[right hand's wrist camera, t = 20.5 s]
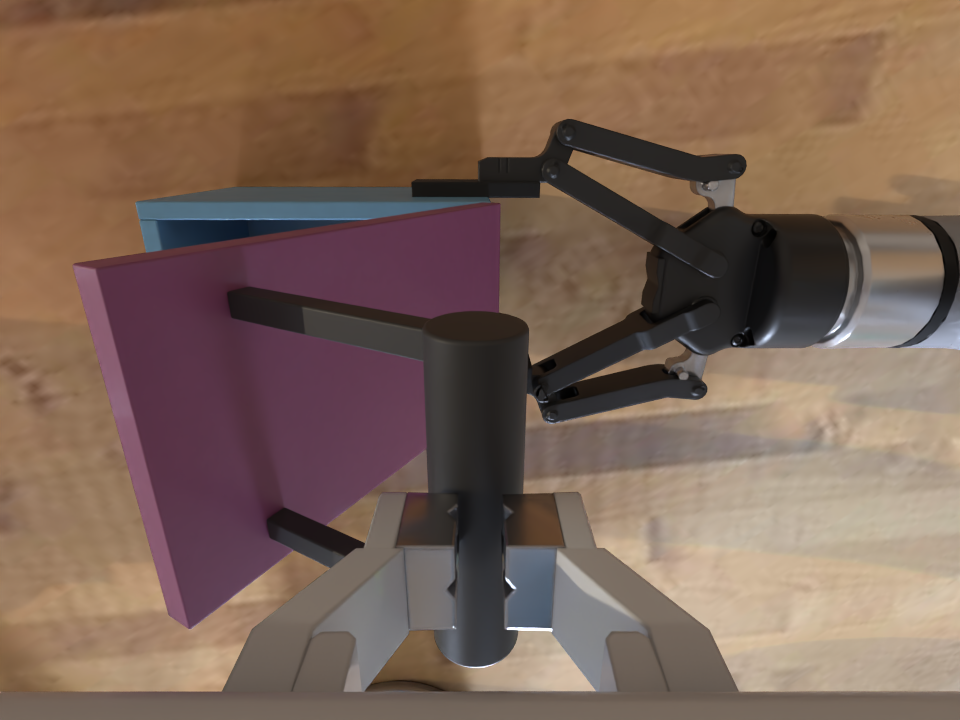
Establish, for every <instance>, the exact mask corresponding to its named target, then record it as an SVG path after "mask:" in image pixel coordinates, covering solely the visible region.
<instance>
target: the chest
mask: <svg viewBox="0 0 960 720" xmlns="http://www.w3.org/2000/svg"><path fill="white" fill-rule="evenodd" d="M481 202H487V203H491V202H490V200H489V198H488V197H412V187H231V188H225V189H218V190H211V191H204V192H198V193H191V194H184V195H177V196H171V197H164V198H157V199H150V200H143V201H137V202H136V208H137V212H138V217H139V219H140V226H141V231H142V235H143V240H144V244H145V249H146V253H147V252H154V251H161V250H167V249H174V248H181V247H187V246H194V245H201V244H207V243H214V242H221V241H227V240H234V239H241V238H248V237H254V236H261V235H268V234H274V233H281V232H288V231H294V230H301V229H308V228H314V227H321V226H328V225H334V224H341V223H348V222H354V221H361V220H368V219H375V218H381V217H388V216H395V215H401V214H408V213H415V212H421V211H428V210H435V209H441V208H448V207H455V206H461V205H468V204H475V203H481Z"/></svg>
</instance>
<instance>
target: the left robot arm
mask: <svg viewBox="0 0 960 720" xmlns="http://www.w3.org/2000/svg"><path fill="white" fill-rule="evenodd" d="M573 150H576V151H579V152H583V153H586V154H590V155H593V156H596V157H600V158H603V159H607V160H610V161H614V162H617V163H621V164H624V165H628V166H631V167H635V168H638V169H642V170H645V171H649V172H652V173H655V174H659V175H662V176H666V177H670V178H674V179H681V180H688V181H690V189H691V191H692V192H693V193H694V194H696V195H701V196H703V197H705V198H706V199H707V202H708V207H707V208H705V209H703V210H702V211H701V212H699V213H698V214H696V215H695V216H693V217H692V218H690V219H689V220H687V221H686V222H684V223H683V224H681V225H680V226H678V227H677V228H675V227H673V226H671V225H670V224H668V223H666V222H664V221H662V220H660V219H658V218H657V217H655V216H653V215H652V214H650V213H648V212H647V211H645V210H643V209H642V208H640V207H638V206H637V205H635V204H633V203H632V202H630V201H628V200H627V199H625V198H623V197H622V196H620V195H618V194H616V193H615V192H613V191H611V190H610V189H608V188H606V187H605V186H603V185H601V184H600V183H598V182H596V181H595V180H593V179H591V178H590V177H588V176H586V175H585V174H583V173H581V172H580V171H578V170H576V169H575V168H573V167H571V166H570V165H568V164H567V163H568V161H569V158H570V156H571V153H572V151H573ZM746 166H747V165H746V160H745V158H744V157H743V156H741V155H738V154H710V155H699V156H696V155H692V154H689V153H685V152H682V151H679V150H675V149H672V148H668V147H665V146H662V145H658V144H655V143H651V142H648V141H645V140H641V139H638V138H635V137H631V136H628V135H624V134H621V133H618V132H614V131H611V130H607V129H604V128H601V127H597V126H594V125H590V124H587V123H584V122H580V121H577V120H573V119H566V120H563V121H560V122H558V123H556V124H555V125H554V126H553V127H552V129H551V132H550V136H549V139H548V142H547V144H546V147H545V149H544V151H543V152H542V153H541V154H540V155H538V156H536V157H487V158H485V159H482V160H480V161H478V180H469V179H416V180H414V181H412V197H488V198H540V183H549V184H550V185H552V186H554V187H555V188H557V189H559V190H561V191H562V192H564V193H566V194H567V195H569V196H571V197H573V198H574V199H576V200H578V201H579V202H581V203H583V204H585V205H586V206H588V207H590V208H591V209H593V210H595V211H597V212H598V213H600V214H602V215H603V216H605V217H607V218H608V219H610V220H612V221H614V222H615V223H617V224H619V225H620V226H622V227H624V228H626V229H627V230H629V231H631V232H632V233H634V234H636V235H637V236H639V237H641V238H642V239H644V240H646V241H648V242H649V243H651V244H653V245H654V246H653V248H652V250H651V252H647V258H646V270H647V277H648V279H647V282H646V284H645V287H644V289H643V293H642V302H641V304H642V305H643V306H644V307H642V308H640V309H638V310H636V311H634V312H632V313H630V314H629V315H628V316H627V317H626V318H625V319H624V320H623V321H621V322H619V323H617V324H615V325H613V326H611V327H609V328H607V329H605V330H603V331H601V332H599V333H597V334H594V335H592V336H590V337H588V338H586V339H584V340H582V341H580V342H578V343H576V344H574V345H572V346H570V347H568V348H566V349H564V350H562V351H560V352H558V353H556V354H554V355H552V356H550V357H548V358H546V359H544V360H542V361H540V362H538V363H536V364H534V365H531V361H530V358H529V354H528V371H527V394H530V395H532V396H534V397H535V399H536V400H537V402H538V405H539V408H540V411H541V414H542V417H543V419H544V421H545V422H547V423H550V424H554V423H559V422H563V421H567V420H572V419H576V418H580V417H585V416H589V415H593V414H598V413H602V412H606V411H611V410H615V409H619V408H623V407H628V406H632V405H636V404H641V403H645V402H649V401H654V400H658V399H662V398H667V397H669V398H681V399H693V400H697V399H700V398H703V397H704V396H705V395H706V393H707V386H706V384H705V383H704V382H703V381H702V375H703V372H704V368H705V364H706V360H707V357H708V355H711V354H714V353H716V352H718V351H720V350H722V349H725V348H730V347H736V348H806V347H809V346H812V347H816V348H876V347H887V348H900V347H911V348H950V349H957V350H960V216H916V215H827V216H824V217H822V216H819V215H814V214H745V213H743V212H741V211H740V210H738V209H737V208H735V207H734V194H735V181H736V178H739V177H740V176H741V175H743V173H744V172H745V170H746ZM674 339H675V340H677V341H678V342H679V343H681V344H682V345H683V346H685V347H686V350H685V352H684V353H683V354H682V355H680V356H678V357H672V358H668V359H666V361H665V364H654V365H647V366H642V367H638V368H634V369H630V370H625V371H621V372H617V373H613V374H608V375H604V376H600V377H596V378H592V379H587V380H583V381H580V380H582V379H584V378H586V377H588V376H590V375H592V374H594V373H596V372H598V371H600V370H602V369H605V368H607V367H609V366H611V365H613V364H615V363H617V362H619V361H621V360H623V359H625V358H627V357H630V356H632V355H634V354H636V353H638V352H640V351H642V350H652V349H655V348H657V347H659V346H662V345H664V344H666V343H668V342H670V341H672V340H674ZM577 381H579V382H577ZM364 692H444V691H442V690H440V689H437V688H435V687H432V686H429V685H425V684H420V683H414V682H405V681H393V682H383V683H377V684H372V685H369V686H368V687H367V688H366V690H365V691H364Z"/></svg>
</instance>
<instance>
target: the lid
mask: <svg viewBox="0 0 960 720" xmlns="http://www.w3.org/2000/svg"><path fill="white" fill-rule="evenodd" d="M499 264H500V203H487V202H481V203H475V204H468V205H461V206H455V207H448V208H441V209H435V210H428V211H421V212H415V213H408V214H401V215H395V216H388V217H381V218H375V219H368V220H361V221H354V222H348V223H341V224H334V225H328V226H321V227H314V228H308V229H301V230H294V231H288V232H281V233H274V234H268V235H261V236H254V237H248V238H241V239H234V240H227V241H221V242H214V243H207V244H201V245H194V246H187V247H181V248H174V249H167V250H161V251H154V252H147V253H141V254H134V255H127V256H121V257H114V258H107V259H100V260H94V261H87V262H80V263H75V264H73V269H74V273H75V276H76V280H77V284H78V287H79V291H80V295H81V298H82V302H83V305H84V309H85V313H86V316H87V320H88V324H89V327H90V331H91V335H92V338H93V342H94V345H95V349H96V353H97V356H98V360H99V364H100V367H101V371H102V374H103V378H104V382H105V385H106V389H107V393H108V396H109V400H110V403H111V407H112V411H113V414H114V418H115V422H116V425H117V429H118V432H119V436H120V440H121V443H122V447H123V451H124V454H125V458H126V462H127V465H128V469H129V472H130V476H131V480H132V483H133V487H134V491H135V494H136V498H137V501H138V505H139V509H140V512H141V516H142V520H143V523H144V527H145V530H146V534H147V538H148V541H149V545H150V549H151V552H152V556H153V560H154V563H155V567H156V570H157V574H158V578H159V581H160V585H161V589H162V592H163V596H164V599H165V603H166V607H167V610H168V614H169V616H171V617H172V618H174V619H175V620H176V621H178V622H179V623H181V624H182V625H184V626H185V627H187V628H188V629H192V628H193V627H194V626H196V625H197V624H198V623H200V622H201V621H202V620H203V619H205V618H206V617H207V616H209V615H210V614H211V613H213V612H214V611H215V610H216V609H218V608H219V607H220V606H222V605H223V604H224V603H226V602H227V601H228V600H230V599H231V598H232V597H233V596H235V595H236V594H237V593H239V592H240V591H241V590H243V589H244V588H245V587H246V586H248V585H249V584H250V583H252V582H253V581H254V580H256V579H257V578H258V577H260V576H261V575H262V574H263V573H265V572H266V571H267V570H269V569H270V568H271V567H273V566H274V565H275V564H276V563H278V562H279V561H280V560H282V559H283V558H284V557H286V556H287V555H288V554H290V553H291V552H292V551H293V550H295V551H297V552H299V553H301V554H303V555H305V556H307V557H309V558H311V559H313V560H315V561H317V562H319V563H321V564H323V565H325V566H327V567H329V568H331V567H333V566H334V565H335V564H336V563H338V562H339V561H340V560H342V559H343V558H344V557H345V556H347V555H348V554H349V553H351V552H352V551H353V550H354V549H356V548H364V546H365V543H363V542H361V541H359V540H357V539H355V538H352V537H350V536H348V535H346V534H343V533H341V532H339V531H337V530H334V529H332V528H330V527H328V526H326V525H327V524H329V523H330V522H331V521H333V520H334V519H335V518H336V517H338V516H339V515H340V514H342V513H343V512H344V511H346V510H347V509H348V508H349V507H351V506H352V505H353V504H355V503H356V502H357V501H359V500H360V499H361V498H363V497H364V496H365V495H366V494H368V493H369V492H370V491H372V490H373V489H374V488H376V487H377V486H378V485H379V484H381V483H382V482H383V481H385V480H386V479H387V478H389V477H390V476H391V475H393V474H394V473H395V472H396V471H398V470H399V469H400V468H402V467H403V466H404V465H406V464H407V463H408V462H409V461H411V460H412V459H413V458H415V457H416V456H417V455H419V454H420V453H421V452H423V451H424V450H425V449H426V448H427V469H428V493H458V495H459V527H458V530H459V531H460V558H459V581H458V605H457V623H456V629H448V630H434V637H435V641H436V644H437V646H438V648H439V649H440V651H441V652H442V653H443V654H444V656H445V657H447V658H448V659H449V660H451V661H452V662H454V663H456V664H458V665H461V666H464V667H470V668H482V667H487V666H491V665H493V664H496V663H498V662H499V661H501V660H503V659H504V658H505V657H506V656H507V655H508V654H509V653H510V652H511V650H512V649H513V647H514V645H515V643H516V641H517V636H518V630H511V629H504V613H503V582H502V574H501V530H502V516H501V505H502V494H523V480H524V453H525V426H526V398H527V371H528V344H529V328H528V326H527V324H526V323H525V322H524V321H523V320H521V319H519V318H517V317H514V316H511V315H507V314H503V313H499Z"/></svg>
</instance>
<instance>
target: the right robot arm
mask: <svg viewBox="0 0 960 720" xmlns="http://www.w3.org/2000/svg"><path fill="white" fill-rule="evenodd" d="M501 516H502V530H501V574H502V582H503V613H504V629H511V630H547V631H552V634H553V635H554V637H555V638H556V639H557V641H558V642H559V643H560V644H561V646H562V647H563V648H564V650H565V651H566V652H567V654H568V655H569V656H570V657H571V659H572V660H573V661H574V663H575V664H576V665H577V667H578V668H579V669H580V670H581V672H582V673H583V674H584V676H585V677H586V678H587V680H588V681H589V682H590V683H591V685H592V686H593V687H594V689H595V690H596V691H597V692H595V691H496V692H364V691H365V690H366V688H367V687H368V686H369V685H370V683H371V682H372V681H373V679H374V678H375V677H376V676H377V674H378V673H379V672H380V670H381V669H382V668H383V666H384V665H385V664H386V663H387V661H388V660H389V659H390V657H391V656H392V655H393V654H394V652H395V651H396V650H397V648H398V647H399V646H400V644H401V643H402V642H403V641H404V639H405V638H406V637H407V635H408V634H409V631H414V630H448V629H456V623H457V605H458V581H459V558H460V531H459V530H458V527H459V495H458V493H413V492H408V493H406V492H382V494H381V495H380V496H379V498H378V502H377V505H376V508H375V512H374V515H373V519H372V522H371V525H370V529H369V532H368V536H367V539H366V542H365V546H364V548H356V549H354V550H353V551H352V552H351V553H349V554H348V555H347V556H345V557H344V558H343V559H342V560H340V561H339V562H338V563H336V564H335V565H334V566H333V567H331V568H330V569H329V570H327V571H326V572H325V573H324V574H322V575H321V576H320V577H318V578H317V579H316V580H315V581H313V582H312V583H311V584H309V585H308V586H307V587H306V588H304V589H303V590H302V591H300V592H299V593H298V594H297V595H295V596H294V597H293V598H291V599H290V600H289V601H288V602H286V603H285V604H284V605H282V606H281V607H280V608H278V609H277V610H276V611H275V612H273V613H272V614H271V615H269V616H268V617H267V618H266V619H264V620H263V621H262V622H260V623H259V624H258V625H257V626H255V627H254V628H253V629H252V630H251V632H250V634H249V637H248V639H247V641H246V643H245V645H244V647H243V649H242V651H241V653H240V655H239V657H238V659H237V661H236V663H235V666H234V668H233V670H232V672H231V674H230V676H229V678H228V680H227V682H226V684H225V686H224V688H223V690H222V692H0V720H960V691H805V692H739V691H738V689H737V687H736V685H735V682H734V680H733V678H732V676H731V674H730V672H729V670H728V668H727V666H726V664H725V662H724V659H723V657H722V655H721V653H720V651H719V649H718V647H717V645H716V643H715V641H714V639H713V636H712V634H711V632H710V630H709V629H708V628H706V627H705V626H704V625H702V624H701V623H700V622H699V621H697V620H696V619H695V618H693V617H692V616H691V615H690V614H688V613H687V612H686V611H684V610H683V609H682V608H681V607H679V606H678V605H677V604H676V603H674V602H673V601H672V600H670V599H669V598H668V597H667V596H665V595H664V594H663V593H661V592H660V591H659V590H658V589H656V588H655V587H654V586H652V585H651V584H650V583H649V582H647V581H646V580H645V579H643V578H642V577H641V576H640V575H638V574H637V573H636V572H634V571H633V570H632V569H631V568H629V567H628V566H627V565H625V564H624V563H623V562H622V561H620V560H619V559H618V558H616V557H615V556H614V555H613V554H611V553H610V552H609V551H607V550H606V549H605V548H597V547H596V544H595V540H594V537H593V534H592V530H591V527H590V524H589V520H588V517H587V514H586V510H585V507H584V504H583V500H582V497H581V494H579V493H578V492H562V493H548V494H502V505H501Z"/></svg>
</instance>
